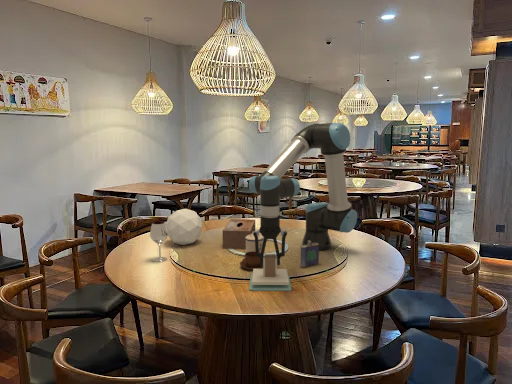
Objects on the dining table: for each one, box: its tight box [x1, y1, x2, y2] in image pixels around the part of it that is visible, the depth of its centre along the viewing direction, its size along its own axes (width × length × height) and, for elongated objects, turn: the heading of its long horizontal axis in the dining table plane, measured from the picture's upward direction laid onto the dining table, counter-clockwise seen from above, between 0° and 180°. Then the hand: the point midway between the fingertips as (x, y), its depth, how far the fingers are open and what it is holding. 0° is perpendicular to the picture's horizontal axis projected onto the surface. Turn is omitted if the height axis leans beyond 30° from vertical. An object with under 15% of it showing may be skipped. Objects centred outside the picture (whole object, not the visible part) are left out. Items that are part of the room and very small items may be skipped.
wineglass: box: [149, 221, 169, 263], centre depth 177 cm, size 8×8×18 cm
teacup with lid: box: [245, 232, 264, 253], centre depth 185 cm, size 12×9×12 cm
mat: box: [248, 273, 292, 292], centre depth 151 cm, size 16×16×1 cm
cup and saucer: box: [239, 252, 263, 271], centre depth 168 cm, size 12×12×6 cm
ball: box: [165, 208, 203, 246], centre depth 204 cm, size 19×20×20 cm
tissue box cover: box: [222, 218, 256, 250], centre depth 207 cm, size 26×14×10 cm, turn 174°
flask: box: [299, 240, 320, 269], centre depth 169 cm, size 10×3×12 cm, turn 121°
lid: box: [252, 253, 289, 285], centre depth 150 cm, size 14×14×9 cm
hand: (270, 272), depth 150 cm, fingers closed on lid, 4 cm apart
